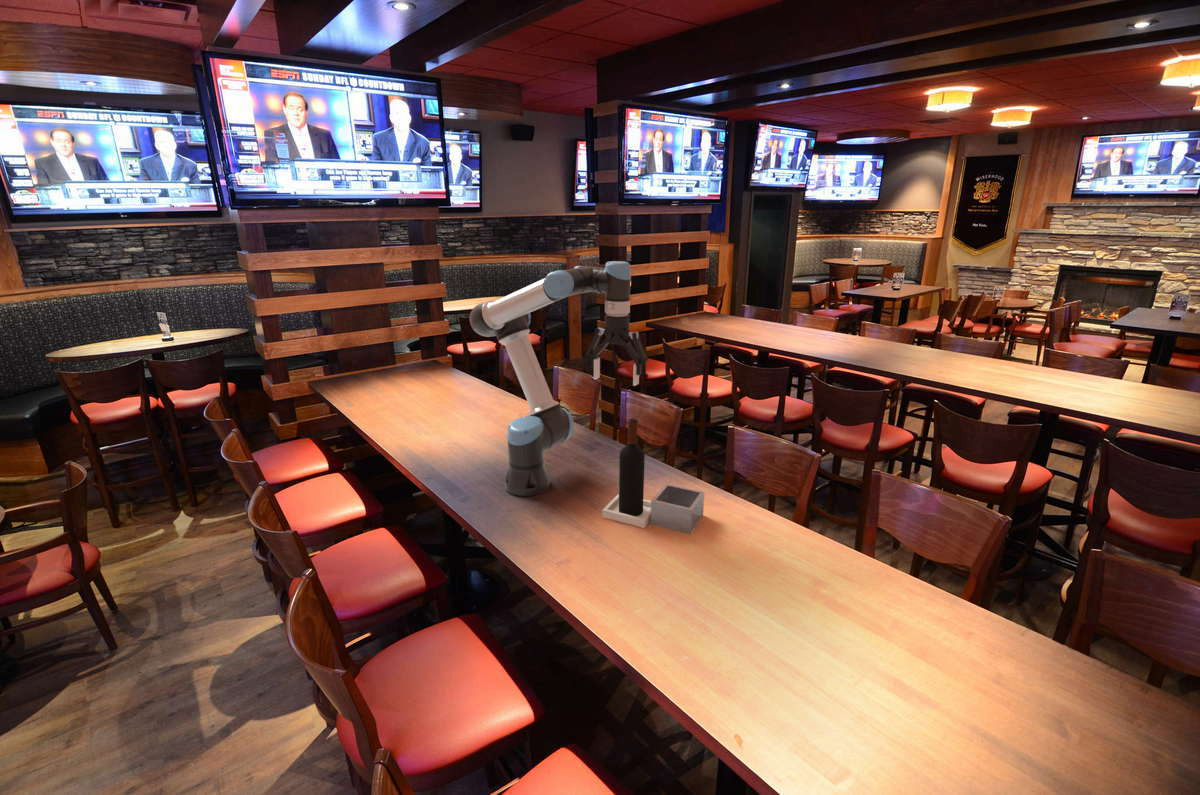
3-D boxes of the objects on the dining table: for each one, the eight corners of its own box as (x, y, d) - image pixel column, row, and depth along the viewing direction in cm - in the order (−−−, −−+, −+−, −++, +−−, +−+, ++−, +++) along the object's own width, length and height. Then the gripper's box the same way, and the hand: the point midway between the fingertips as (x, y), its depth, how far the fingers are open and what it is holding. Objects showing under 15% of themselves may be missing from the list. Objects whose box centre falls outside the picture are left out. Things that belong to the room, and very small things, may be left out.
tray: (602, 517, 177) (602, 509, 176) (618, 500, 187) (618, 493, 186) (644, 528, 171) (644, 520, 170) (659, 510, 181) (659, 503, 181)
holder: (650, 524, 173) (651, 500, 171) (664, 506, 184) (665, 483, 181) (690, 534, 168) (691, 510, 165) (702, 515, 179) (704, 492, 176)
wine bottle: (623, 518, 174) (624, 426, 165) (615, 506, 181) (616, 417, 172) (646, 515, 176) (649, 423, 167) (638, 503, 183) (640, 414, 174)
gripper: (575, 312, 176) (575, 378, 183) (650, 320, 165) (648, 390, 172) (586, 308, 182) (586, 373, 189) (660, 316, 171) (657, 384, 178)
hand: (615, 381), depth 180 cm, fingers open, 13 cm apart
